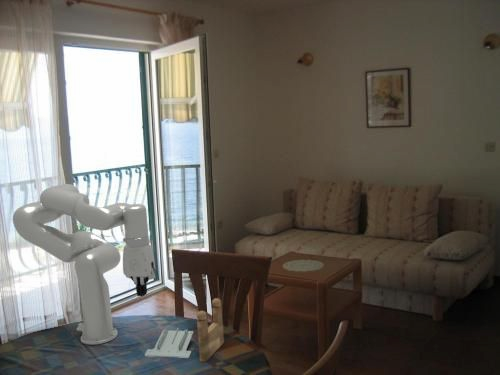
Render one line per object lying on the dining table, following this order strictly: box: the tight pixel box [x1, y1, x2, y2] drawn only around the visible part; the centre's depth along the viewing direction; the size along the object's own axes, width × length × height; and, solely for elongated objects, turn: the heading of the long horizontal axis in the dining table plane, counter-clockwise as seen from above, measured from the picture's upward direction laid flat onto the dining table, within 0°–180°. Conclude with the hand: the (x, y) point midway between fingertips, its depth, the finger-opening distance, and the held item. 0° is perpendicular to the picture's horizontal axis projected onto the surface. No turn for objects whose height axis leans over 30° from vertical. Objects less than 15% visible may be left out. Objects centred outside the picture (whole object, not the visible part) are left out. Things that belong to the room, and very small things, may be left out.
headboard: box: [196, 297, 225, 363], centre depth 162 cm, size 3×14×16 cm, turn 159°
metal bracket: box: [144, 327, 194, 359], centre depth 167 cm, size 14×6×15 cm
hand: (142, 294), depth 169 cm, fingers closed
